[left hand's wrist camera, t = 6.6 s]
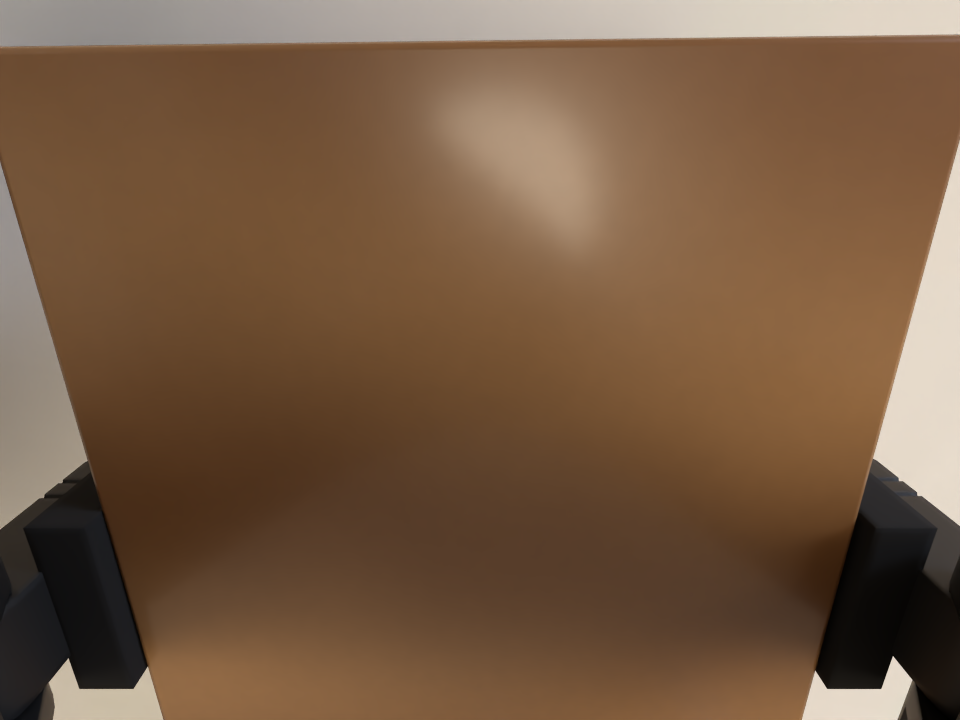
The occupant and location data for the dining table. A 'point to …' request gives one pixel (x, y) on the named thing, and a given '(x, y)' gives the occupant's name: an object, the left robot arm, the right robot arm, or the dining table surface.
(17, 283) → the dining table surface
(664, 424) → the long wooden beam
